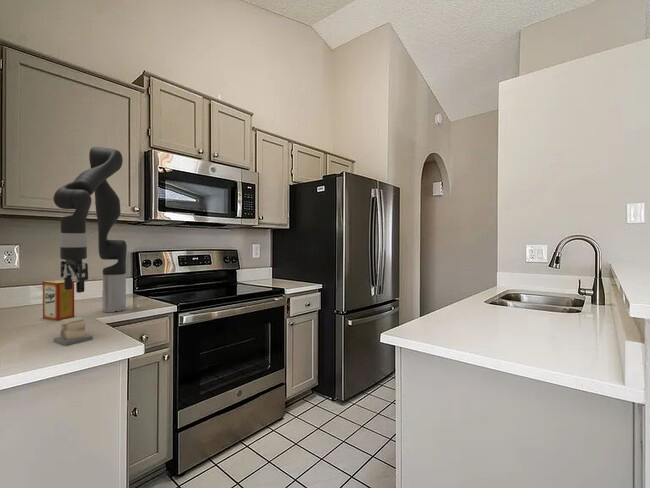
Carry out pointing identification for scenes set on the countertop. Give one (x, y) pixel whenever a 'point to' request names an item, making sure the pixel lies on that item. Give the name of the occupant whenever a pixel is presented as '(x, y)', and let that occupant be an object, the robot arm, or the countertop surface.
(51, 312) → the baking soda box
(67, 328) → the oak block
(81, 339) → the base plate
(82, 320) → the sage block
